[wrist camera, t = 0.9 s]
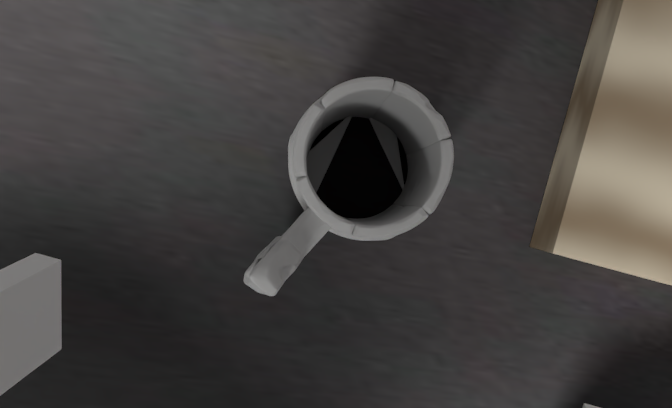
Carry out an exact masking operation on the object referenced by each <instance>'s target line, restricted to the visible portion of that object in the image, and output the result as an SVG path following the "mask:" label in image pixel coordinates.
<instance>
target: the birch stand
mask: <svg viewBox="0 0 672 408" xmlns="http://www.w3.org/2000/svg"><path fill="white" fill-rule="evenodd" d="M529 247H532V248H535V249H539V250H542V251H546V252H549V253H553V254H556V255H560V256H564V257H568V258H571V259H575V260H579V261H582V262H586V263H590V264H594V265H597V266H601V267H605V268H609V269H612V270H616V271H620V272H623V273H627V274H631V275H635V276H638V277H642V278H646V279H649V280H653V281H657V282H661V283H664V284H668V285H672V0H598V3H597V6H596V10H595V14H594V17H593V21H592V24H591V28H590V31H589V35H588V39H587V42H586V46H585V49H584V53H583V57H582V60H581V64H580V67H579V71H578V74H577V78H576V82H575V85H574V89H573V92H572V96H571V100H570V103H569V107H568V110H567V114H566V117H565V121H564V125H563V128H562V132H561V135H560V139H559V143H558V146H557V150H556V153H555V157H554V160H553V164H552V168H551V171H550V175H549V178H548V182H547V186H546V189H545V193H544V196H543V200H542V203H541V207H540V211H539V214H538V218H537V221H536V225H535V229H534V232H533V236H532V239H531V243H530V246H529Z"/></svg>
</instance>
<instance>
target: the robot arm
mask: <svg viewBox="0 0 672 408" xmlns="http://www.w3.org/2000/svg"><path fill="white" fill-rule="evenodd" d="M61 349H62V311H61V260H60V259H56V258H53V257H49V256H45V255H42V254H38V253H34V254H32V255H30V256H28V257H26V258H24V259H22V260H20V261H17V262H15V263H13V264H11V265H9V266H7V267H5V268H3V269H1V270H0V396H1V395H2V394H3V393H5V392H6V391H7V390H9V389H10V388H11V387H12V386H14V385H15V384H16V383H18V382H19V381H20V380H22V379H23V378H24V377H26V376H27V375H28V374H30V373H31V372H32V371H33V370H35V369H36V368H37V367H39V366H40V365H41V364H43V363H44V362H45V361H47V360H48V359H49V358H51V357H52V356H53V355H55V354H56V353H57V352H58V351H60V350H61ZM582 408H601V407H597V406H593V405H590V404H586V403H584V404H583V407H582Z"/></svg>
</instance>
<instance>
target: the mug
mask: <svg viewBox="0 0 672 408" xmlns="http://www.w3.org/2000/svg"><path fill="white" fill-rule="evenodd" d="M351 117H363V118H367V119H369V120H370V122H371V124H372V126H373V128H374V130H375V133H376V135H377V137H378V139H379V141H380V143H381V145H382V147H383V149H384V152H385V154H386V156H387V158H388V160H389V162H390V164H391V166H392V169H393V171H394V173H395V175H396V177H397V179H398V181H399V183H400V185H401V188H402V192H401V194H400V196H399V197H398V198H397V199H396V201H395V202H394V203H393V205H391V206H390V207H388V208H387V209H386V210H385V211H383V212H381V213H379V214H377V215H375V216H372V217H368V218H361V219H354V218H346V217H342V216H340V215H337V214H335V213H334V212H332V211H331V210H330V209H329V208H328V207H327V206H326V205H325V204H324V203H323V202H322V201H321V200H320V198H319V197H318V196H317V194H316V192H317V190H318V188H319V186H320V184H321V182H322V180H323V177H324V175H325V173H326V171H327V169H328V167H329V165H330V162H331V160H332V158H333V156H334V154H335V152H336V150H337V147H338V145H339V143H340V141H341V139H342V137H343V135H344V132H345V130H346V128H347V126H348V124H349V122H350V120H351ZM341 119H344V120H343V121H342V122H341V123H340V124H339V125H338V126H337V127H336V128H334V129H333V130H332V131H331V132H330V133H329V134H328V135H327V136H326V137H325V138H324V139H322V140H321V141H320V142H319V143H318V144H317V145H316V146H315V147H314V148H313V149H312V150H310V148H311V146H312V144H313V142H314V140H315V139H316V138H317V136H318V135H319V134H320V132H321V131H323V130H324V129H325V128H327V127H328V126H329V125H331V124H332V123H334V122H336V121H339V120H341ZM397 137H398V139H399V140H400V142H401V143H402V145H403V148H404V151H405V154H406V155H407V156H406V159H407V164H408V173H407V179H406V183H405V186H404V181H403V174H402V168H401V161H400V154H399V147H398V141H397ZM449 137H451V134H450V131H449V129H448V126H447V124H446V122H445V120H444V118H443V116H442V115H441V114H439V113H438V112H437V111H436V110H435V109H434V108H433V106H432V105H431V104H430V102H429V100H428V99H427V98H426V97H425V96H424V95H423V94H422V93H420V92H419V91H417V90H416V89H414V88H412V87H411V86H409V85H407V84H405V83H402V82H398V81H395V82H394V80H393V79H391V78H386V77H362V78H356V79H352V80H349V81H346V82H343V83H341V84H339V85H337V86H335V87H333V88H331V89H330V90H328V91H327V92H326V93H325V95H324V96H322V97H321V98H319V99H318V100H317V101H316V102H314V103H313V104H312V105H311V106H310V107H309V108H308V110H307V111H306V112H305V113H304V115H303V116H302V117H301V119H300V121H299V122H298V124H297V126H296V128H295V130H294V132H293V133H292V134H291V136H290V140H289V144H288V170H289V176H290V181H291V185H292V188H293V190H294V193H295V195H296V197H297V199H298V201H299V203H300V204H301V206H302V208H303V209H304V212H303V213H302V214H301V215H300V216H299V217H298V218H297V220H296V221H295V222H294V223H293V224H292V225H291V226H290V227H289V228H288V230H287V231H286V232H285V233H284V234H283V235H282V236H277V237H276V238H275V239H274V240H273V241H272V242H271V243H270V244H269V245H268V246H267V247H266V248H264V249H263V250H262V251H261V252H260V253H259V254H258V256H257V257H256V258H255V260H254V262H253V263H252V264H251V265H250V266H249V268H248V269H247V270H246V272H245V274H244V283H245V284H246V285H247V286H249V287H251V288H252V289H253V290H255V291H256V292H258V293H261V294H266V295H268V296H275V295H276V294H277V292H278V291H279V289H280V288H281V286H282V285H283V284H284V282H285V281H286V280H287V279H288V277H289V276H290V275H291V274H292V273H293V272H294V271H295V270H296V269H297V267H298V266H299V264H300V262H301V261H302V260H303V258H304V257H305V256H306V255H307V254H308V253H309V251H310V250H311V249H312V248H313V247H314V246H315V245H316V244H317V243H318V242H319V240H320V239H321V238H322V237H323V236H324V235H325V234H326V233H327V232H328V231H330V232H332V233H334V234H336V235H339V236H342V237H345V238H348V239H353V240H361V241H376V240H388V239H391V238H393V237H395V236H397V235H399V234H402V233H404V232H406V231H409V230H411V229H412V228H414V227H416V226H417V225H419V224H420V223H422V222H423V221H424V220H425V219H427V218H428V214H432V213H433V212H434V210H435V209H436V208H437V206H438V204H439V203H440V201H441V199H442V197H443V195H444V193H445V190H446V188H447V186H448V184H449V181H450V178H451V175H452V170H453V162H454V149H453V142H452V139H448V138H449Z"/></svg>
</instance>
